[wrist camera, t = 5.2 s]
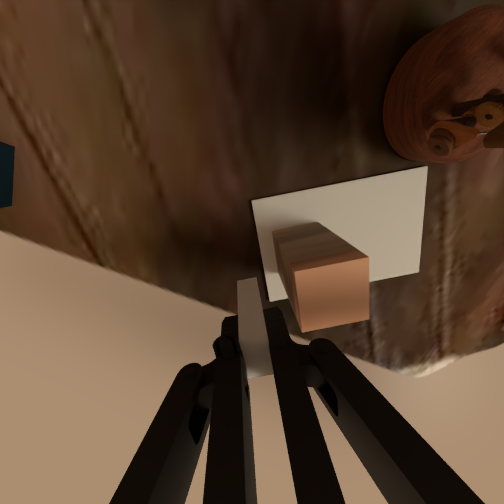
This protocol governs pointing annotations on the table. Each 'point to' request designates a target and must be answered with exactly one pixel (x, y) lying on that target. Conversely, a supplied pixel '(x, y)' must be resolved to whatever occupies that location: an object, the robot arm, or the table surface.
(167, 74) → the table surface
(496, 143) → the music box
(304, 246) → the walnut block
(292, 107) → the table surface
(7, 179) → the watch
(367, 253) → the mat
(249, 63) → the table surface
